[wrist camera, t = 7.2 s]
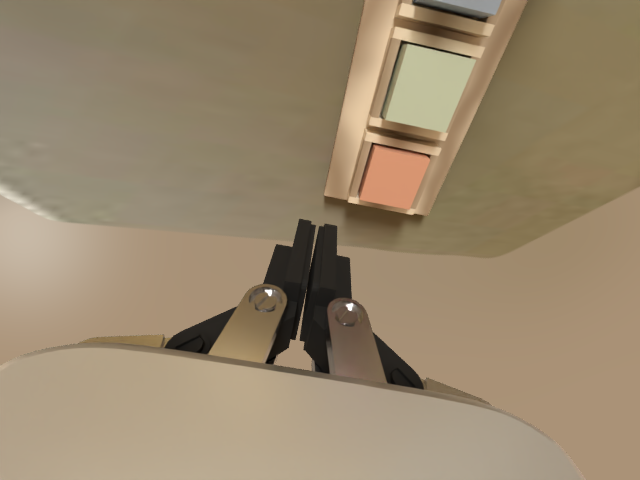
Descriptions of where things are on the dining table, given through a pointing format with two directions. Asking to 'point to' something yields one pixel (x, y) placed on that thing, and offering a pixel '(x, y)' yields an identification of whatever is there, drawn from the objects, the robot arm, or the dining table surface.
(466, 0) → the slate button
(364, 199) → the terracotta button
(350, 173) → the button panel
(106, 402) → the robot arm
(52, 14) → the dining table surface
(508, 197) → the dining table surface
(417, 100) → the sage button
